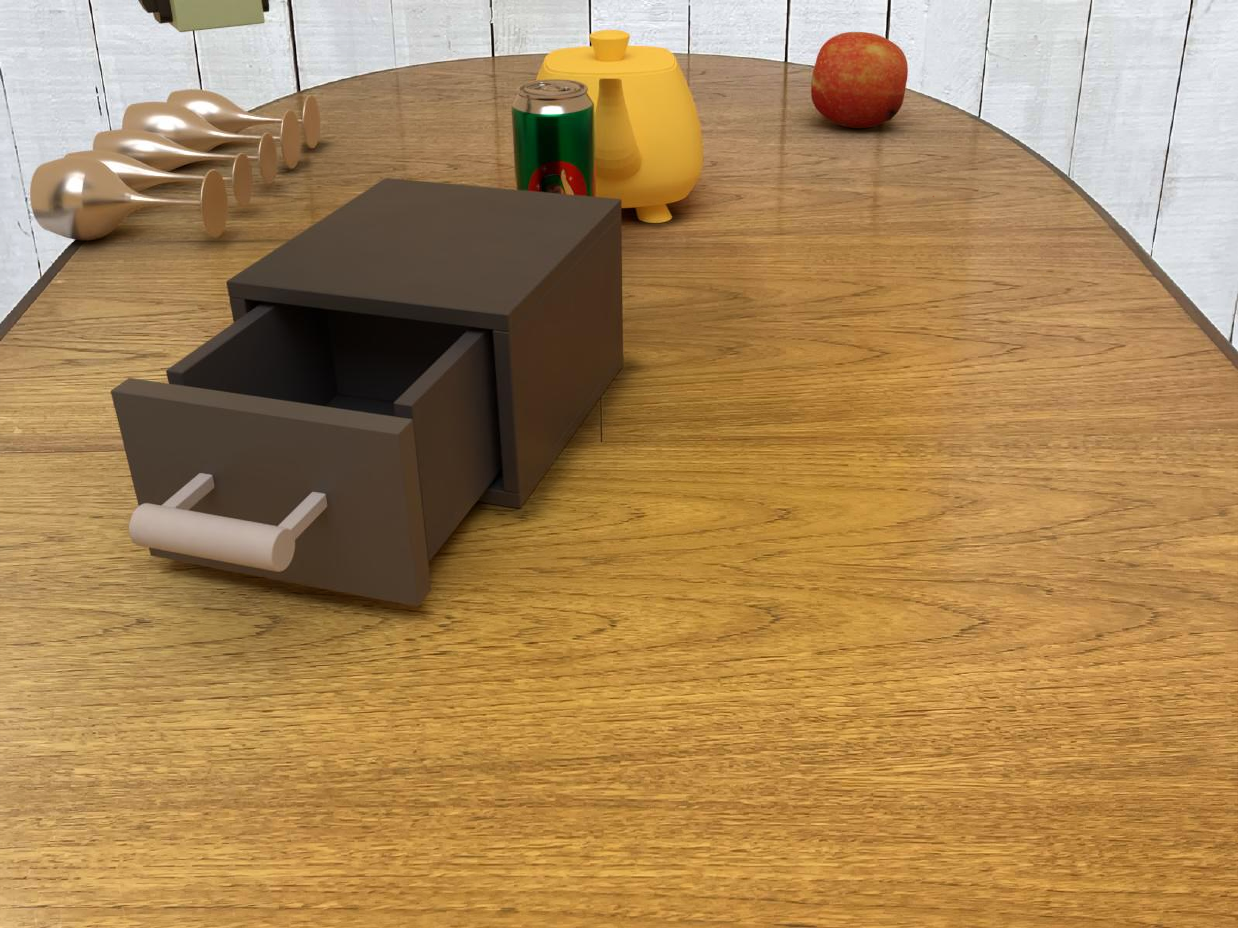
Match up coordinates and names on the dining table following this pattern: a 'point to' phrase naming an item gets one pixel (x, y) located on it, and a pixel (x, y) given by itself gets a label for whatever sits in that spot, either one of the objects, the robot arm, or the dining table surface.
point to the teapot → (636, 121)
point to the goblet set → (162, 163)
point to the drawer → (315, 448)
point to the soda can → (554, 138)
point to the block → (215, 14)
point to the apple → (859, 79)
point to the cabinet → (476, 294)
